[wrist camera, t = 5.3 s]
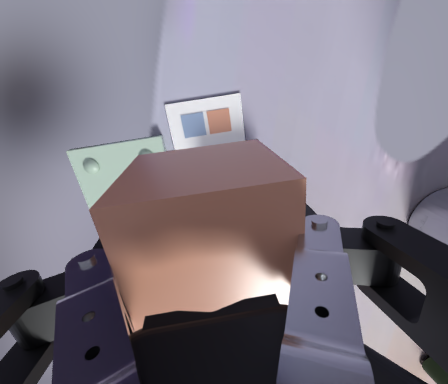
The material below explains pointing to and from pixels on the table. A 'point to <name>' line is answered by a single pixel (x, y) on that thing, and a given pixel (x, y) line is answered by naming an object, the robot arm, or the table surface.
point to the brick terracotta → (202, 228)
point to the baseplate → (108, 163)
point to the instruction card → (206, 121)
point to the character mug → (435, 371)
